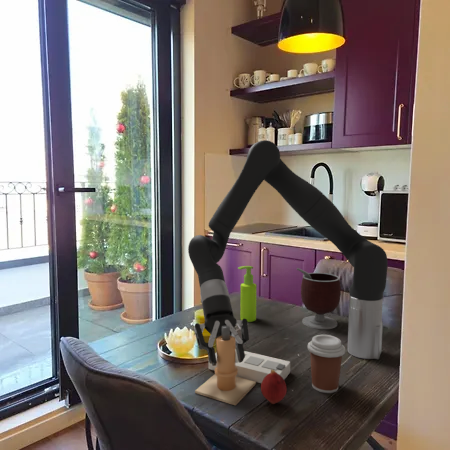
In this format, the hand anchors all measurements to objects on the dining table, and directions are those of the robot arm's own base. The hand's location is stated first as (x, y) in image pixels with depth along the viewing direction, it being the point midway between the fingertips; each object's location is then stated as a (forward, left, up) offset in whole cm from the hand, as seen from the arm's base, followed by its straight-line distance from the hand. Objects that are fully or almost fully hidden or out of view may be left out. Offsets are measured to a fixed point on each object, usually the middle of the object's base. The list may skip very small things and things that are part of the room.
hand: (228, 362), depth 93 cm
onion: (-11, -1, -8) cm, 14 cm away
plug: (+1, -1, -7) cm, 7 cm away
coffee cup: (-20, -14, -8) cm, 25 cm away
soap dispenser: (+18, -48, -8) cm, 52 cm away
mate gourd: (-6, -57, -8) cm, 58 cm away
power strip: (0, -12, -7) cm, 14 cm away
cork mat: (+1, -1, -7) cm, 8 cm away
